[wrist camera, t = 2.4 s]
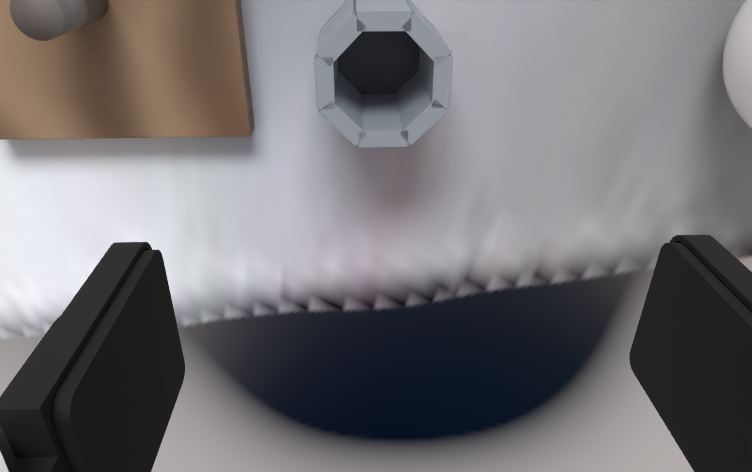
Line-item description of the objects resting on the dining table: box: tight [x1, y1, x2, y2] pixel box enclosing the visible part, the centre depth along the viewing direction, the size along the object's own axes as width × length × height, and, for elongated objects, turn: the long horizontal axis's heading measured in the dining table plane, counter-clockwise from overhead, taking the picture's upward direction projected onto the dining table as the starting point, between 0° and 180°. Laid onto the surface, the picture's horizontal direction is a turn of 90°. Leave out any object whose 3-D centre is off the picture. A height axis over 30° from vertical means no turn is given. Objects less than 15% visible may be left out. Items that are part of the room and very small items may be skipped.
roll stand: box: [0, 0, 254, 139], centre depth 26 cm, size 14×14×6 cm
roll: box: [314, 0, 453, 147], centre depth 28 cm, size 6×6×6 cm
